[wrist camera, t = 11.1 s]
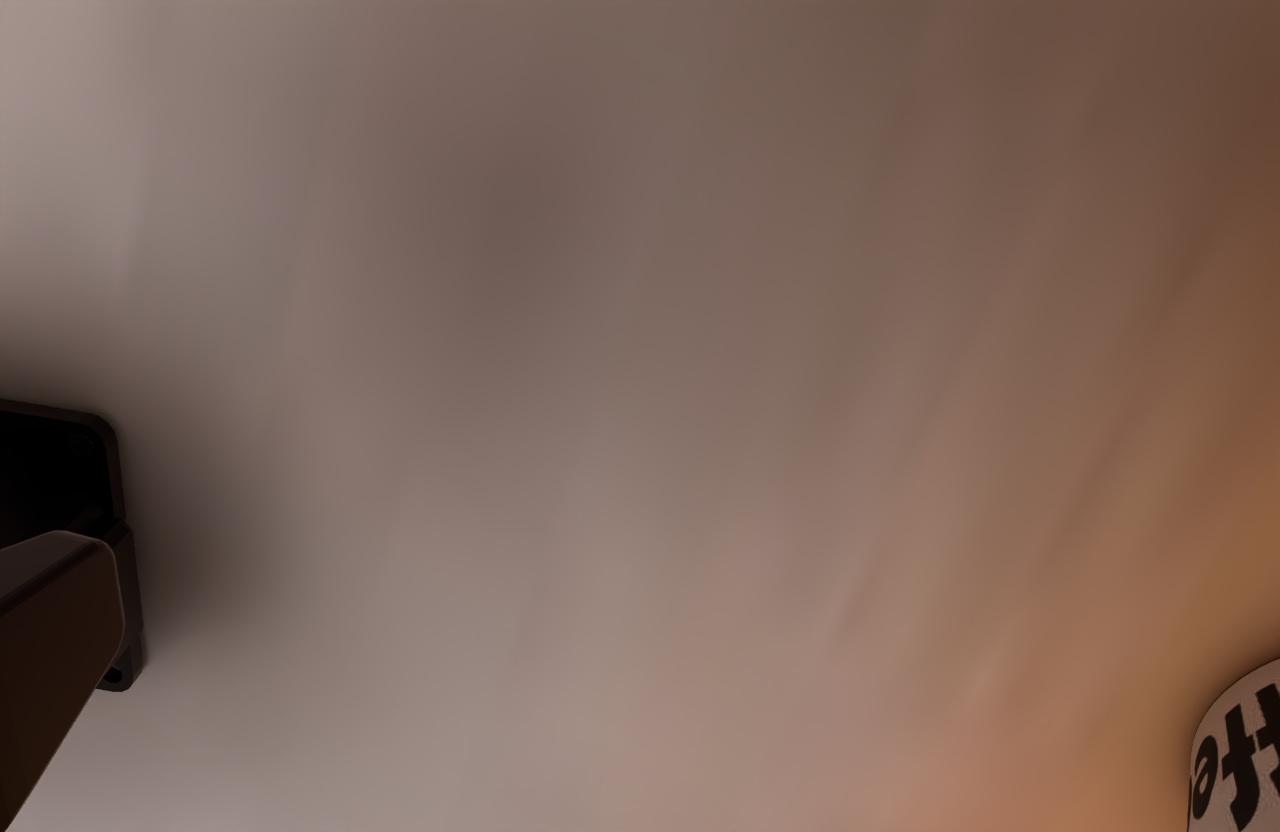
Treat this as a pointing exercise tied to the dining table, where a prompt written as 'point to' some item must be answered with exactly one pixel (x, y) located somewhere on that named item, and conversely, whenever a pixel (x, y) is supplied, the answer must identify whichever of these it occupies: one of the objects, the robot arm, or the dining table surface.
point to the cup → (1238, 758)
